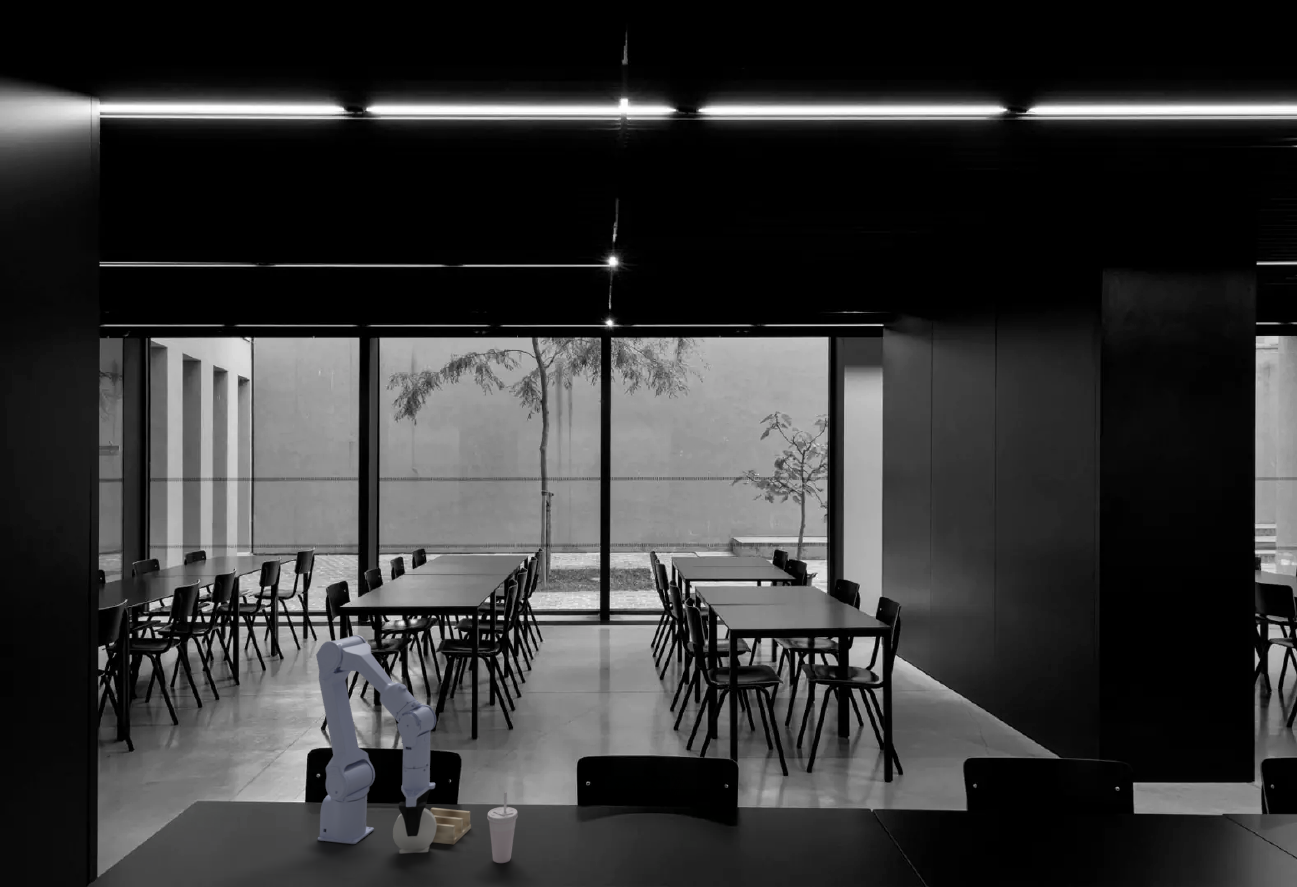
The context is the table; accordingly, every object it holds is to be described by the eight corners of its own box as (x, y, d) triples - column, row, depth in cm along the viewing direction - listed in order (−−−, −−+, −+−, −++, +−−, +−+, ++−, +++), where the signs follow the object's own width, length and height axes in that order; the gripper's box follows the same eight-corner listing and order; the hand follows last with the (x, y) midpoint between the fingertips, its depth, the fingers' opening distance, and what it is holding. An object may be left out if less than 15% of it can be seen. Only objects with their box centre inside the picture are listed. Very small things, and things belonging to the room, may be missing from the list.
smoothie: (510, 867, 168) (511, 798, 169) (481, 864, 170) (482, 796, 170) (521, 853, 175) (522, 787, 175) (493, 851, 176) (494, 785, 177)
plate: (392, 854, 174) (393, 811, 175) (393, 849, 176) (394, 807, 177) (435, 851, 175) (436, 809, 176) (436, 847, 177) (437, 805, 178)
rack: (412, 840, 181) (412, 822, 181) (431, 824, 190) (431, 807, 190) (453, 844, 179) (454, 827, 179) (470, 828, 188) (471, 811, 188)
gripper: (430, 775, 170) (429, 841, 169) (439, 753, 185) (438, 814, 184) (396, 776, 169) (395, 843, 168) (407, 754, 184) (406, 815, 183)
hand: (415, 828), depth 176 cm, fingers open, 7 cm apart
